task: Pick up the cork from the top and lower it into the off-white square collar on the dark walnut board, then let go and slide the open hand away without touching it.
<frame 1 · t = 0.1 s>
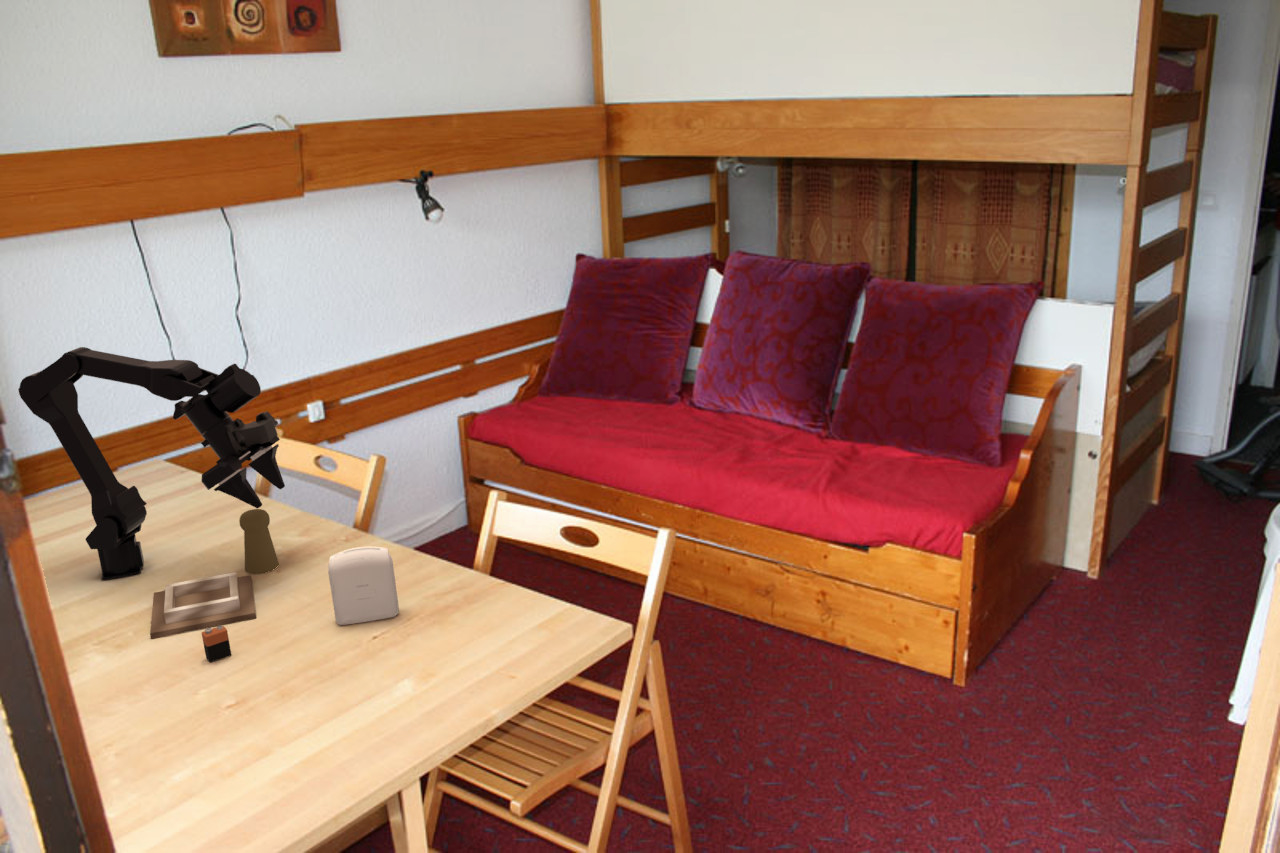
hand: (271, 497, 186), 15 cm above the table, tool tilted 30°, fingers open, 9 cm apart
battery: (219, 658, 163), on the table
photo printer: (367, 618, 173), on the table
cork: (262, 568, 194), on the table
socket board: (204, 607, 179), on the table
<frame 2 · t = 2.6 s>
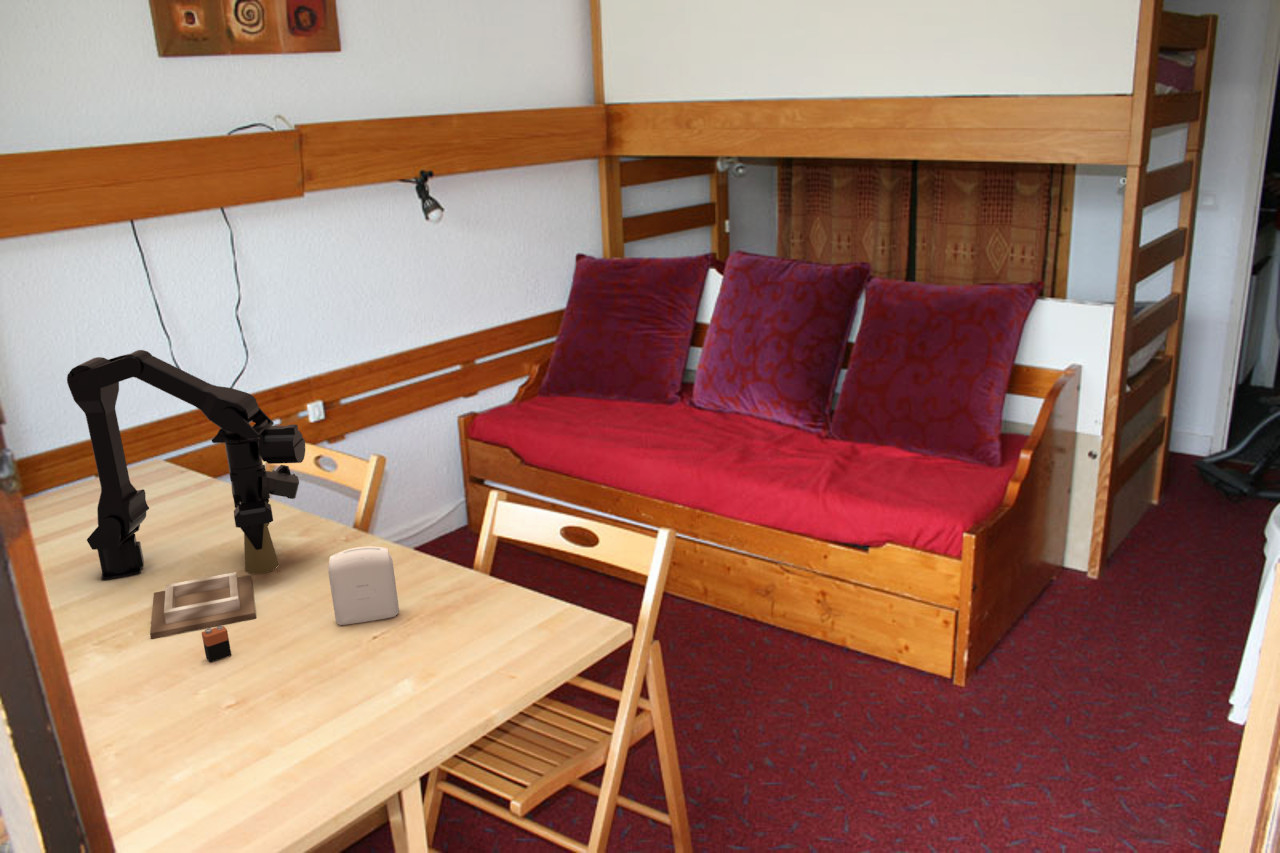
hand: (258, 544, 192), 5 cm above the table, tool pointing down, fingers closed on cork, 4 cm apart
cork: (262, 567, 194), on the table, touching gripper
everything else where it was.
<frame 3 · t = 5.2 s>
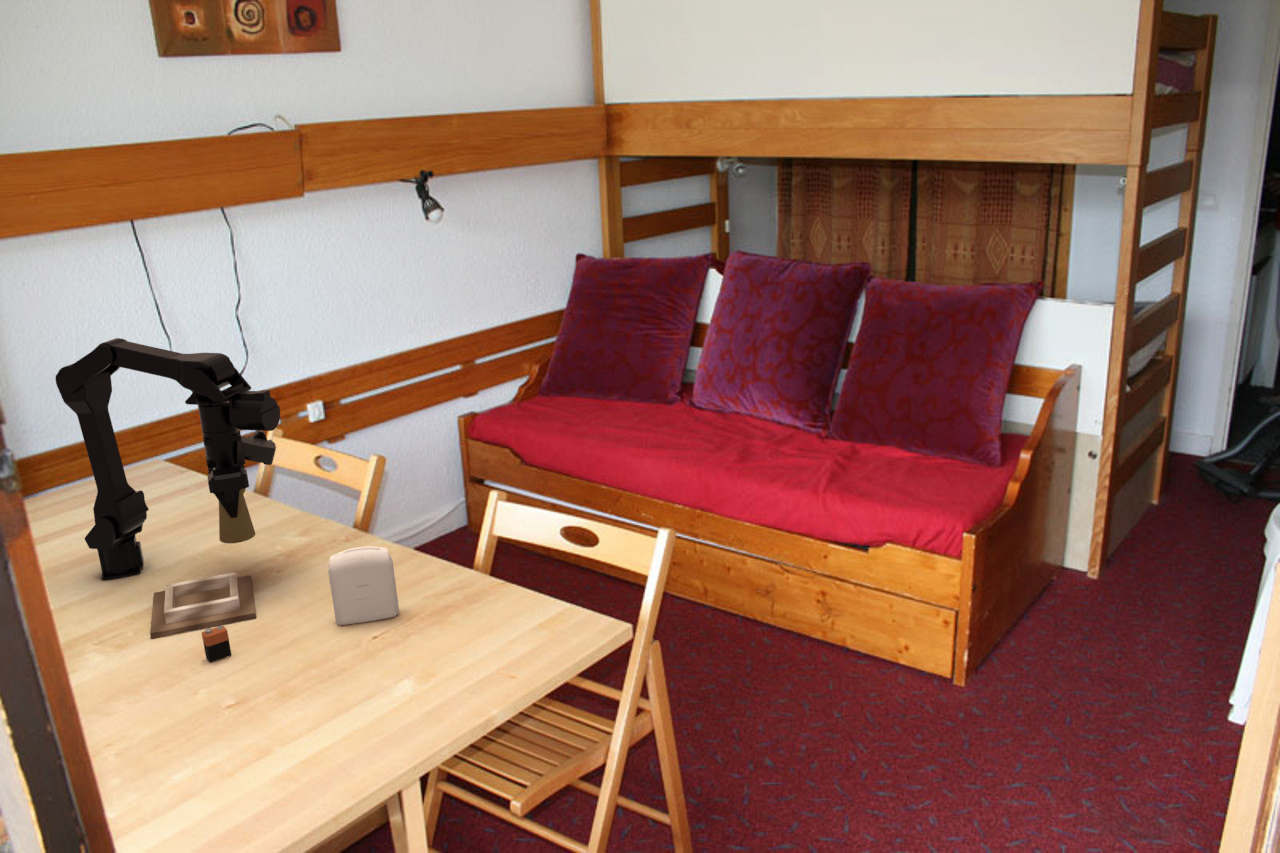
hand: (233, 512, 185), 13 cm above the table, tool pointing down, fingers closed on cork, 4 cm apart
cork: (237, 537, 187), point 8 cm above the table, touching gripper
everything else where it was.
when the fingers open (7 cm above the table, at t = 7.9 s): cork drops 1 cm, resting on socket board.
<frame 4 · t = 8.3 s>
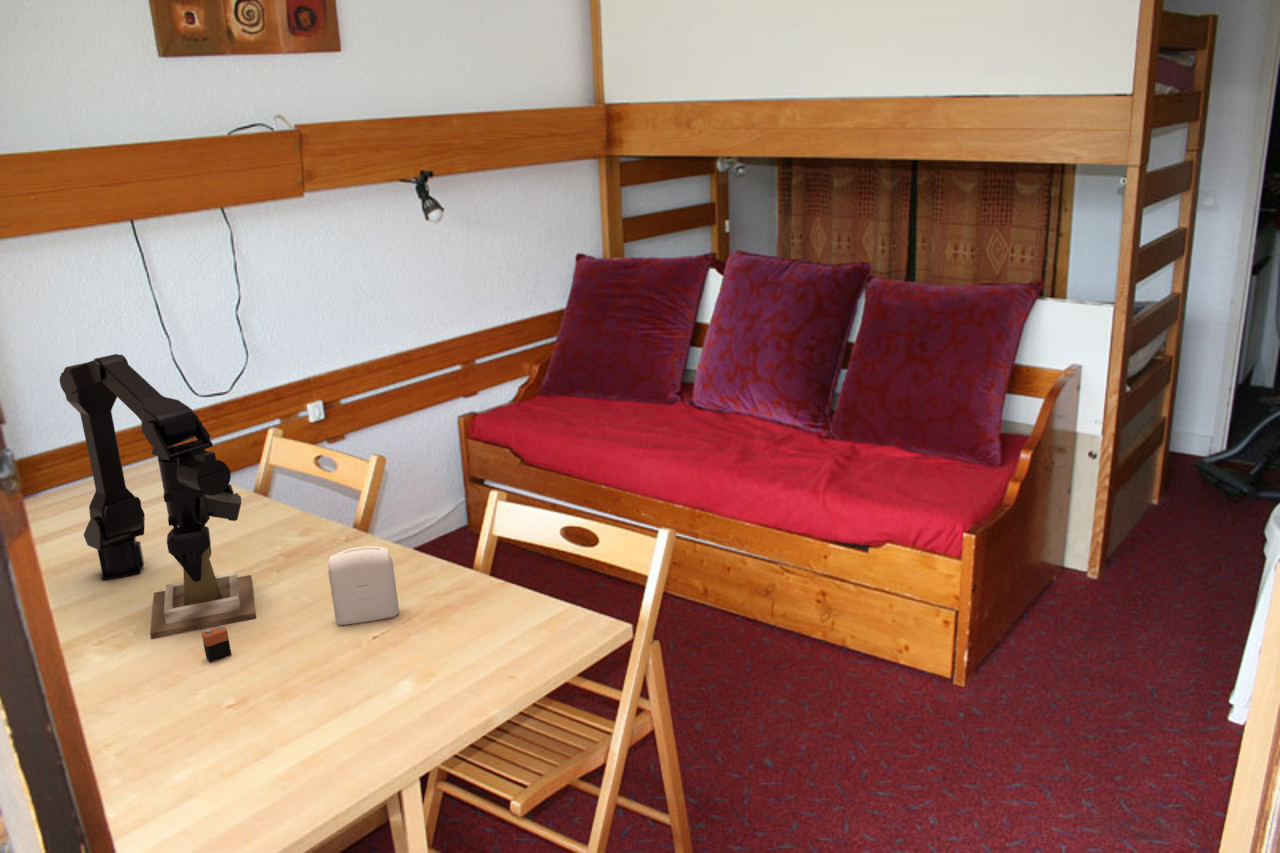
hand: (197, 570, 177), 7 cm above the table, tool pointing down, fingers open, 9 cm apart
cork: (203, 603, 179), point 1 cm above the table, touching socket board
everything else where it was.
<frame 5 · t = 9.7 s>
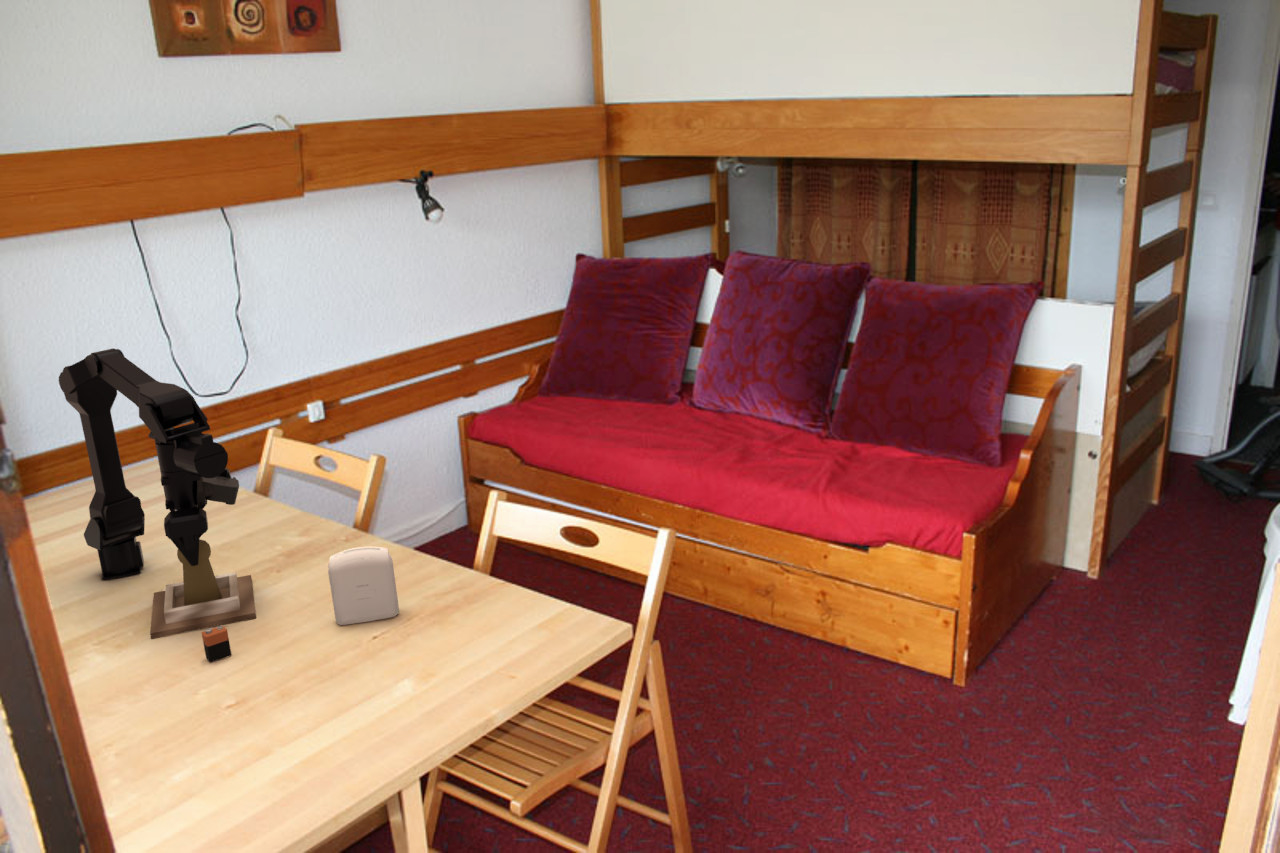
hand: (195, 554, 176), 10 cm above the table, tool pointing down, fingers open, 9 cm apart
nothing on the table moved.
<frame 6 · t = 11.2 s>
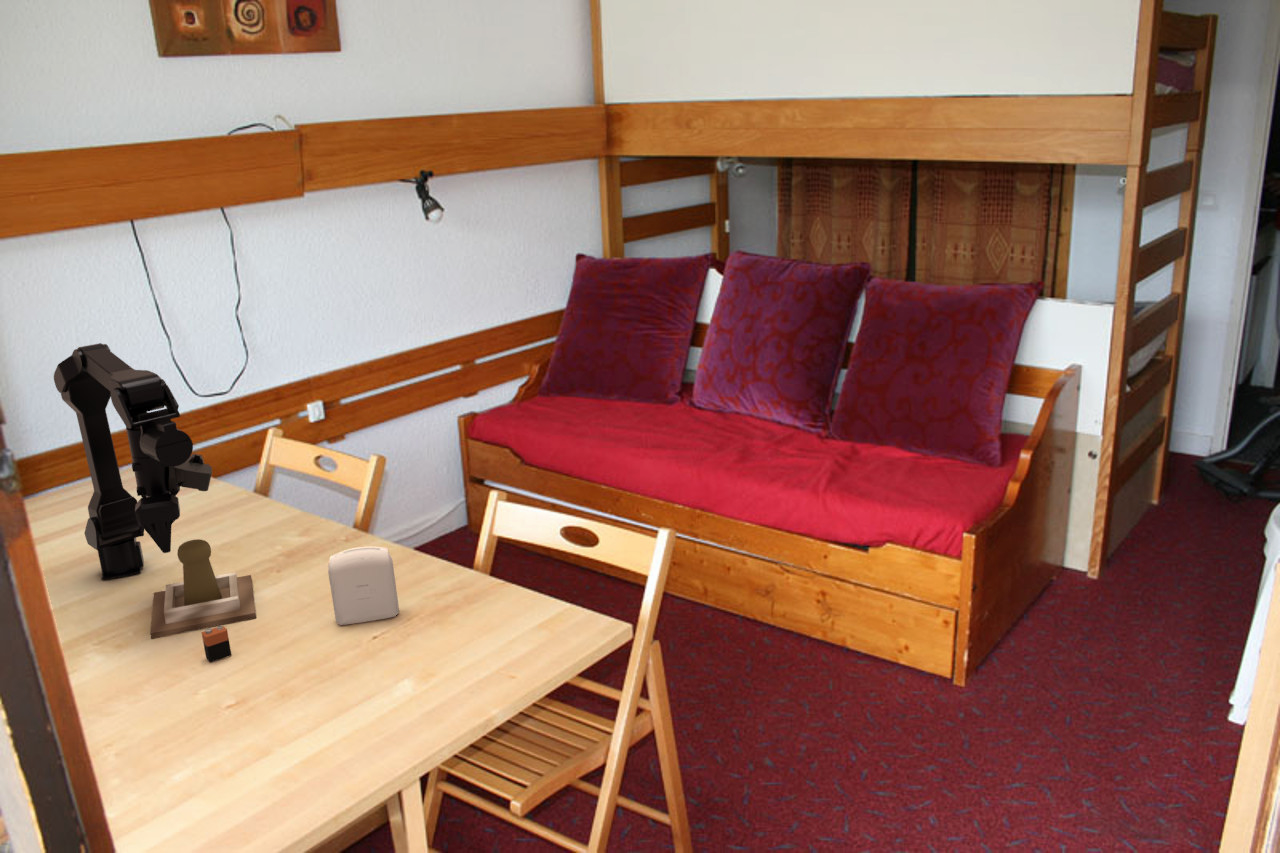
hand: (167, 541, 174), 13 cm above the table, tool pointing down, fingers open, 9 cm apart
nothing on the table moved.
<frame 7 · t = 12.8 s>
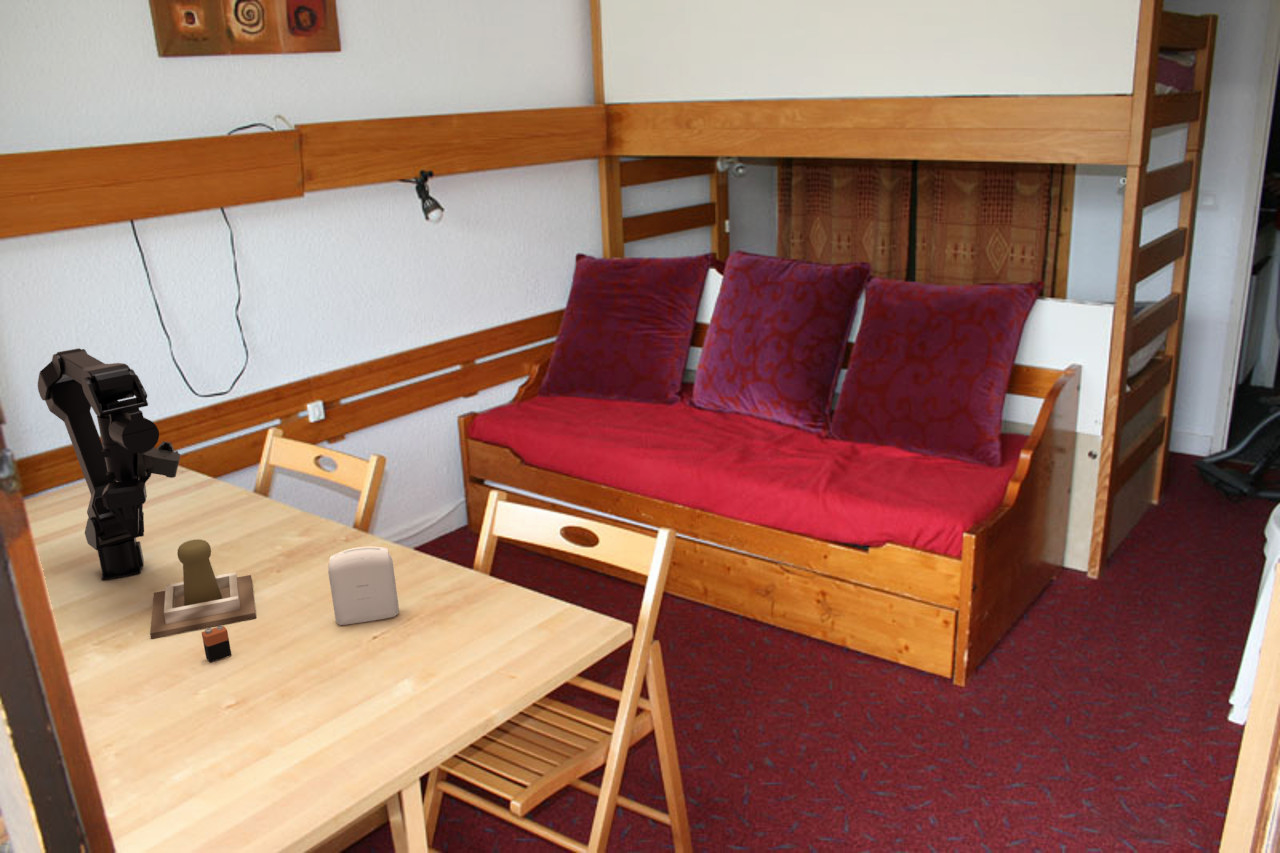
hand: (136, 525, 182), 13 cm above the table, tool pointing down, fingers open, 9 cm apart
nothing on the table moved.
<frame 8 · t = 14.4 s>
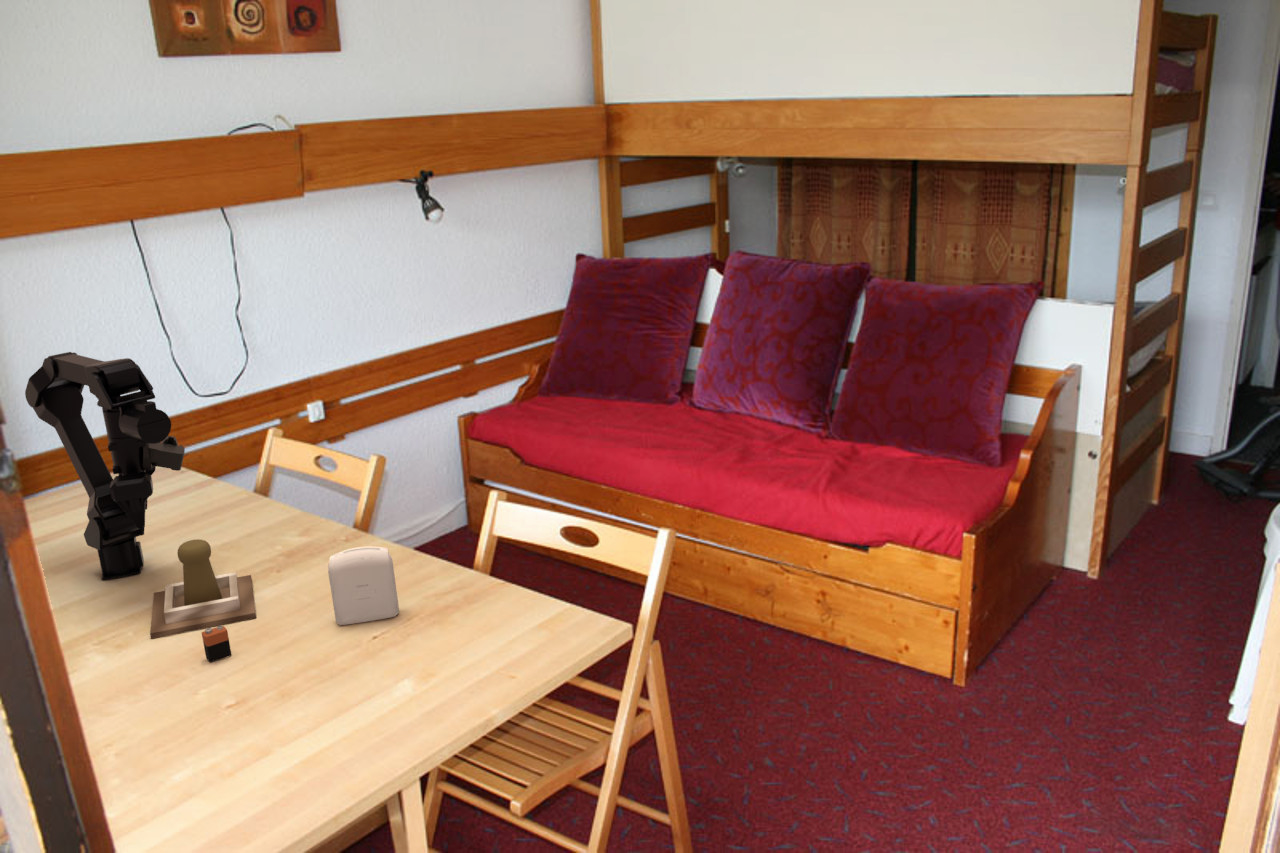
hand: (142, 518, 184), 13 cm above the table, tool pointing down, fingers open, 9 cm apart
nothing on the table moved.
at the end: cork 0.1 cm off-centre on the socket board, point 0.8 cm above the socket board's base; cork tilted 0°; the gripper is holding nothing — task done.
